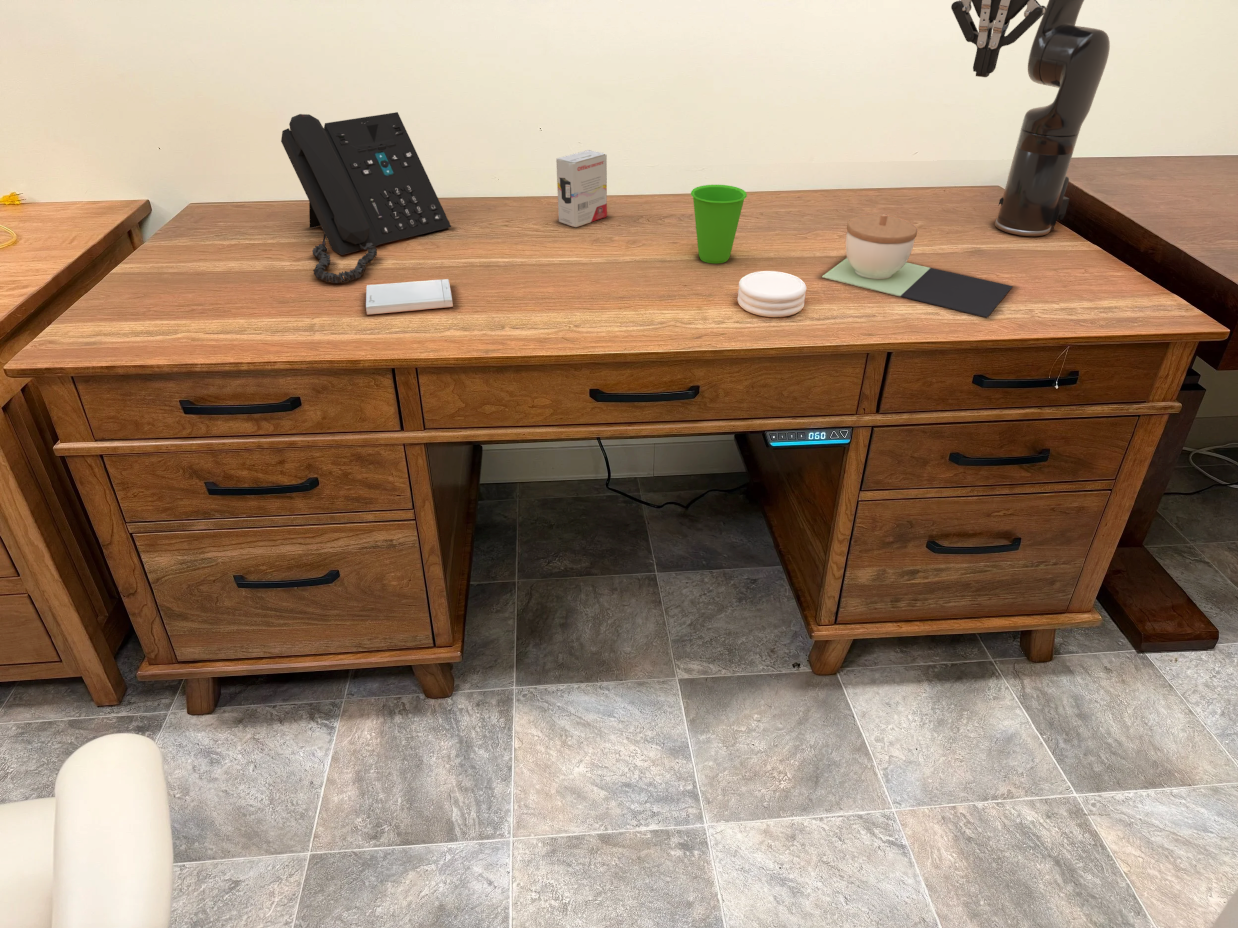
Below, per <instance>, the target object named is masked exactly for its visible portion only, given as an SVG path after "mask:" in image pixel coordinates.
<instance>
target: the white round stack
mask: <svg viewBox="0 0 1238 928" xmlns="http://www.w3.org/2000/svg"><path fill="white" fill-rule="evenodd" d="M806 292H807V284H806V283H805V282H804V281H803V280H802V279H801V278H800V277H798V276H796V275H794V274H791V273H787V272H783V271H777V270H759V271H754V272H750V273H748V274H746V275H744V276H743V277H742V278H740V279H739V282H738V289H737V294H738V295H737V297H736V298H737V303H738V305H739V306H740V307H741V308H742V310H744V311H746V312H748V313H749V314H752V315H756V316H760V317H765V318H766V317H767V318H783V317H790V316H793V315H796V314H798V313H799V312H801V311H802V310H803V308H804V307H805V300H806Z"/></svg>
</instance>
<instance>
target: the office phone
mask: <svg viewBox="0 0 1238 928" xmlns="http://www.w3.org/2000/svg"><path fill="white" fill-rule="evenodd" d="M288 125H289V128H285V129H284V130H282V132H281V139H280V142H281V144H282V147H283V149H284V151H285V153H286V155H287V157H288V159H289V162H290V163H291V165H292V168H293V170H294V172H295V174H296V177H297V178H298V180H299V182H300V185H301V186H302V189H303V191H304V193H305V195H306V198H307V199H308V201H309V203H308V206H309V207H308V211H309V214H308V215H309V217H308V218H309V219H308V220H309V229H313V228H317V227H321V229H322V231H323V233H324V235H323V237H322V242H321V243H319V244H318V245H315V246H314V247H313V248H312V250H311V251H312V256H313V257H315V258H316V259H317V260H318V263H316V264H315V267H314V269H313V270H312V271H313V275H314V276H315V277H316V279H318V280H321V281H323V282H326V283H329V282H331V283H333V284H342V283H348V282H350V281H355V279H358V278H362V275H364V272H365V271H366V268H367V264H371V262H372V261H373V260H375V259H376V258H377V257H376V256H377V255H378V249H377V246H380V245H382V244H388V243H391V242H396V241H399V240H403V239H407V238H408V239H409V238H412V237H417V236H421V235H424V234H429V233H433V232H436V231H441V230H446V229H449V228H452V225H451V223H450V220H449V219H448V217H447V215H446V212H445V210H444V208H443V205H442V203H441V202H440V199H439V197H438V195H437V193H436V190H435V189H434V187H433V185H432V182H431V180H430V178H429V176H428V174H427V172H426V170H425V167H424V165H423V163H422V161H421V159H420V157H419V155H418V153H417V151H416V148H415V146H414V144H413V142H412V140H411V138H410V136H409V134H408V131H407V129H406V127H405V125H404V123H403V121H402V118H401V116H400V114H399V112H398V111H395V112H389V113H383V114H377V115H370V116H364V117H356V118H351V119H343V120H338V121H331V122H325V123H324V125H322V123H321V121H320V119H318V118H316V117H315V116H313V115H311V114H307V113H306V114H305V113H299V114H296V115H294V116H292V117H291V118H290V121H289V124H288ZM326 240H327V242H328V244H329V246H330V248H331V250H332V251H333V252H335V253H337V254H338V255H340V256H345V255H348V254H353V253H356V252H359V251H362V250H365V251H367V252H366V253H364V255H363V256H362V257H361V258H359V259H358V260H357V262H356V265H355V267H354V269H350V270H349V271H346V270H345V271H343V270H342V271H341V272H338V273H334V272H329V271H325V270H326V269H327V268H328V267H329V265H330V264H331V255H330V254H328V253H327V252H328V247H327V246H326Z"/></svg>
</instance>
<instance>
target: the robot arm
mask: <svg viewBox="0 0 1238 928" xmlns="http://www.w3.org/2000/svg"><path fill="white" fill-rule="evenodd" d="M1084 2H1085V0H1048V1H1047V3H1046V6H1045V5H1041V4H1040V3H1039V2H1038V0H955V1H953V2H952V3H951V6H950V9H951V11H952V13H953V15H954V17H955V20H956V22H957V24H958V26H959V28H960V31H961V33H962V35H963V37H964V39H965V41H966V42H967V43H972V44H974V45H975V47H976V51H975V52H976V53H975V57H974V60H973V65H972V71H973V72H975V77H979V78H980V77H981V78H988V77H989V76H990V74H992V73H993V72H994V71H996V68H997V63H998V60H999V59H998V58H999V55H1000V51H1001V49H1002V48H1003V47H1006V46H1010V45H1012V44H1014V43H1016V42H1017V40H1019V39H1020V38H1021V37H1022V36H1023V35H1024V34H1025V33H1026V32H1027V31H1028V30H1030V28H1031V27H1032V26H1033V25H1034V24H1036V23H1037V22H1038V21H1039V20H1040V22H1039V25H1038V28H1037V30H1036V33H1035V35H1034V38H1033V41H1032V44H1031V47H1030V51H1029V55H1028V59H1027V75H1028V77H1029V79H1030V80H1031V81H1032V82H1033V83H1036V84H1039V85H1043V86H1047V87H1053V88H1057V89H1058V90H1057V93H1056V95H1055V98H1054V100H1053V101H1052V103H1050V104H1047V105H1045V106H1038V107H1033V108H1031V109H1029V110H1027V111H1026V112H1025V113H1024V115H1023V119H1022V123H1021V126H1020V127H1021V128H1020V129H1019V130H1020V131H1019V134H1018V137H1017V141H1016V146H1015V150H1014V154H1013V157H1012V160H1011V166H1010V169H1009V172H1008V176H1007V179H1006V184H1005V186H1004V191H1003V195H1002V197H1001V198H999V200H998V206H999V210H998V214H997V217H996V219H995V222H994V226H995V227H996V228H997V229H999V230H1000V231H1002V232H1005V233H1006V234H1007V233H1008V234H1010V235H1011V234H1012V235H1015V236H1020V237H1021V236H1023V237H1043V236H1045V235H1048V234H1049V233H1050V232H1053V231H1054V230H1055V227H1056V224H1057V222H1058V220H1064V218H1065V215H1066V213H1067V208H1068V205H1069V202H1070V198H1069V197H1067V196H1065V194H1066V191H1067V188H1068V185H1069V181H1070V178H1069V176H1067V175H1068V170H1069V167H1070V164H1071V161H1072V157H1073V154H1074V151H1075V147H1076V143H1077V140H1078V136H1079V135H1080V131H1081V128H1082V126H1083V123H1084V122H1085V120H1086V119H1087V116H1088V115H1089V113H1090V111H1091V108H1092V105H1093V103H1094V99H1095V97H1096V93H1097V91H1098V88H1099V85H1100V82H1101V80H1102V77H1103V74H1104V72H1105V69H1106V66H1107V63H1108V60H1109V55H1110V47H1111V43H1110V42H1111V41H1110V37H1109V35H1108V34H1107V32H1106V31H1104V30H1103V29H1099V28H1093V27H1087V26H1081V25H1076V24H1077V21H1078V17H1079V13H1080V12H1081V10H1082V6H1083V4H1084ZM972 6H973V8H974V10H975V13H976V15H977V17H978V18H979V21H978V29H977V26H976V24H975V22H974V20H973V17H972V15H971V13H970V12H971V11H972ZM1025 7H1026V8H1025ZM1024 8H1025V10H1024ZM1022 10H1024V12H1023V17H1024V18H1023V19H1022V20H1021V21H1020V22H1019V23H1018V24H1017V25H1016V26H1015V27H1014V28H1013V29H1012V30H1011V31H1010V32H1009V33H1008V34H1006V33H1007V30H1008V28H1009V25H1010V22H1011V20H1013V19H1014V18H1016V17H1017V15H1019V13H1020V12H1021V11H1022Z"/></svg>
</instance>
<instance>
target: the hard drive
mask: <svg viewBox="0 0 1238 928" xmlns="http://www.w3.org/2000/svg"><path fill="white" fill-rule="evenodd" d="M365 290H366V291H365V311H366V316H367V315H370V316H371V315H379V314H388V313H389V314H390V313H391V314H392V313H401V312H402V313H403V312H411V311H422V310H423V311H424V310H432V309H443V308H453V307H454V305H453V303H454V302H453V296H452V295H453V294H452V289H451V285H450V279H449V278H442V279H431V280H430V279H429V280H428V279H427V280H418V281H417V280H415V281H403V282H392V283H391V282H389V283H378V284H377V283H376V284H367V285H366V289H365Z"/></svg>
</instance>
